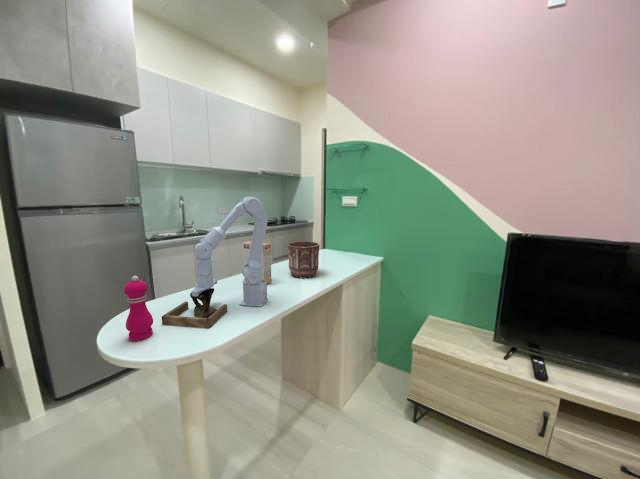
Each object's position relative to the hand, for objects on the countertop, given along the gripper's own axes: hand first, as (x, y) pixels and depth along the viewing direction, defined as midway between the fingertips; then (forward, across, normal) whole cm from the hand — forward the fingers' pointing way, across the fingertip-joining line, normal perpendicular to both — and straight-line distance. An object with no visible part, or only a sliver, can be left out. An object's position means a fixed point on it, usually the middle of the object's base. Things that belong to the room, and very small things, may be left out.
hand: (206, 307), depth 104 cm
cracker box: (+1, -36, +8) cm, 36 cm away
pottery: (+1, -52, +29) cm, 59 cm away
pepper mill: (+1, +22, -10) cm, 24 cm away
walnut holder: (+1, +6, 0) cm, 6 cm away
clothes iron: (+1, +3, 0) cm, 3 cm away
